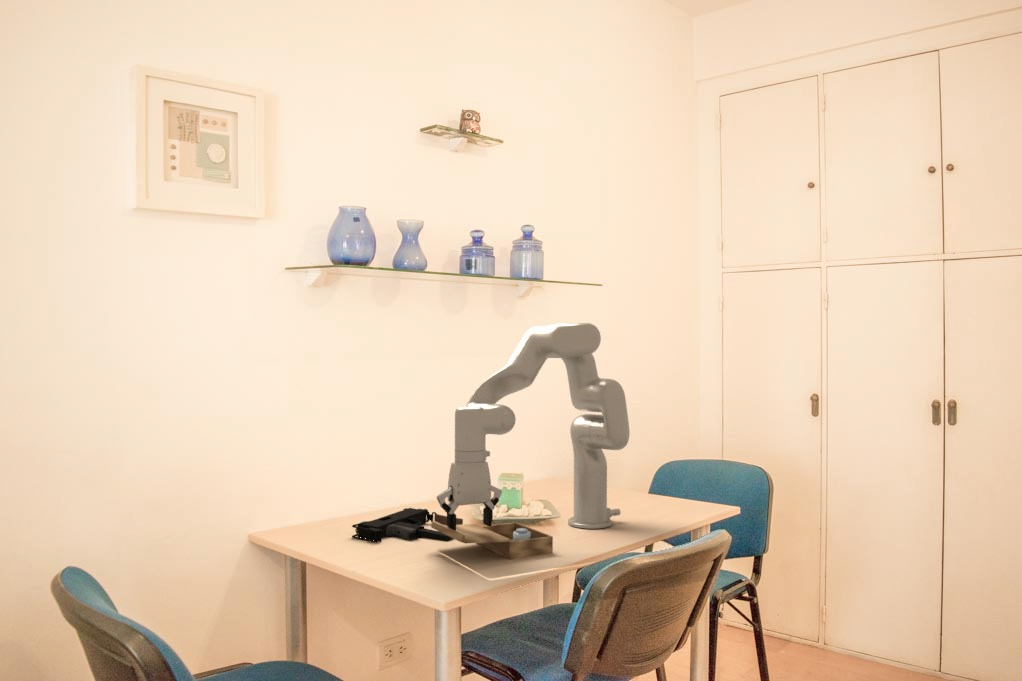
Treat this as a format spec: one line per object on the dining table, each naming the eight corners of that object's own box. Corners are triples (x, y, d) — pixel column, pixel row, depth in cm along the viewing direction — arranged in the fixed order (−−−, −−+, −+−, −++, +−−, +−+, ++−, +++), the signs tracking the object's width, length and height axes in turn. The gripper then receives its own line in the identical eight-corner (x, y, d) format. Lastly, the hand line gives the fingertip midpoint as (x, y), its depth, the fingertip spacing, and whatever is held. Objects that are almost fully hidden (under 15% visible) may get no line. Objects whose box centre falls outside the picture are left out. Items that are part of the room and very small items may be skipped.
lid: (430, 520, 196) (430, 527, 196) (462, 535, 180) (462, 543, 180) (476, 519, 202) (475, 526, 202) (510, 534, 187) (510, 541, 187)
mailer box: (516, 539, 208) (516, 522, 208) (552, 555, 193) (552, 536, 193) (475, 544, 202) (475, 527, 202) (510, 561, 187) (510, 542, 187)
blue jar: (524, 543, 202) (524, 526, 202) (533, 547, 198) (533, 530, 198) (509, 545, 199) (510, 528, 200) (518, 549, 196) (518, 532, 196)
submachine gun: (486, 516, 221) (414, 502, 233) (427, 540, 196) (349, 524, 208) (486, 531, 221) (413, 517, 233) (426, 558, 196) (348, 541, 208)
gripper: (494, 452, 199) (493, 520, 199) (431, 457, 190) (431, 528, 190) (508, 456, 193) (508, 526, 192) (444, 461, 184) (444, 534, 184)
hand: (469, 527), depth 191 cm, fingers open, 9 cm apart
